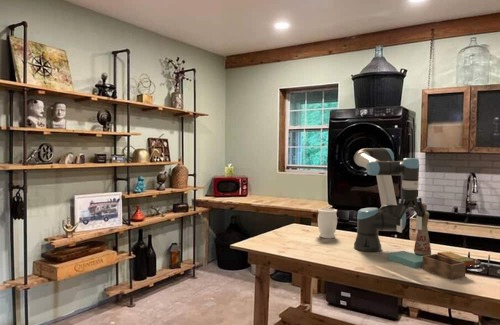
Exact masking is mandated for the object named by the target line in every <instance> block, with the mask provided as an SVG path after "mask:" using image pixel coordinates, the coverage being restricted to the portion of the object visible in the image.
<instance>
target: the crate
mask: <svg viewBox="0 0 500 325" xmlns="http://www.w3.org/2000/svg"><path fill="white" fill-rule="evenodd" d="M422 257H423V267H422V270H423V271H427V272H429V273H432V274H434V275H438V276H440V277H443V278H446V279H449V280H451V281H452V280H456V279H461V278H466V268H467V267H466V263H464V262H461V261H458V260H454V259H451V258H448V257H444V256H441V255H438V254H437V253H434V254H430V255H422Z"/></svg>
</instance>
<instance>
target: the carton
mask: <svg viewBox="0 0 500 325" xmlns="http://www.w3.org/2000/svg"><path fill="white" fill-rule="evenodd" d="M436 254H438V255H441V256H444V257H448V258H451V259H454V260H458V261H461V262H464V263H466V266H470V265H475V266H476V261H475V260H473V259H471V258H468V257H465V256H462V255H460V254H458V253H455V252H452V251H441V252H437V253H436Z"/></svg>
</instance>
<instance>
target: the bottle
mask: <svg viewBox="0 0 500 325" xmlns="http://www.w3.org/2000/svg"><path fill="white" fill-rule="evenodd" d="M422 204H423V207H424V210H425V213H426V215H424V217H422V230H419V229H417V231H416V232H417V233H416V235H415V236H416V237H415V242H414V248H413V254H415V255H418V256H427V255H432V247H431V242H430V237H429V229H428V224H429V217H430V213H429V212H428V211H427V206H428V205H427V204H425V203H423V202H422ZM416 216H418V215H417V214H416Z"/></svg>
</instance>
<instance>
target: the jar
mask: <svg viewBox="0 0 500 325" xmlns="http://www.w3.org/2000/svg"><path fill="white" fill-rule="evenodd" d="M317 212H318V214H317V225H318V230H319V234H318V235H319V237H320V238H323V239H333V238H336V236H335V233H336V231H337V225H338V216H337V213H338V209H335V208H328V207H324V208H321V207H320V208H318V209H317Z"/></svg>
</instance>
